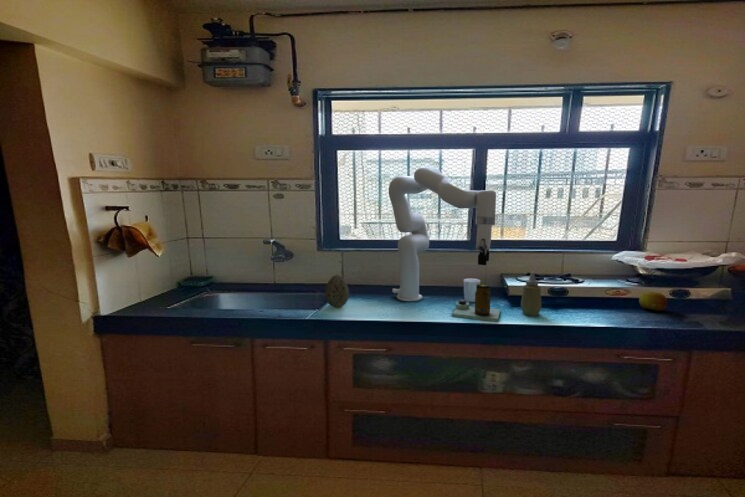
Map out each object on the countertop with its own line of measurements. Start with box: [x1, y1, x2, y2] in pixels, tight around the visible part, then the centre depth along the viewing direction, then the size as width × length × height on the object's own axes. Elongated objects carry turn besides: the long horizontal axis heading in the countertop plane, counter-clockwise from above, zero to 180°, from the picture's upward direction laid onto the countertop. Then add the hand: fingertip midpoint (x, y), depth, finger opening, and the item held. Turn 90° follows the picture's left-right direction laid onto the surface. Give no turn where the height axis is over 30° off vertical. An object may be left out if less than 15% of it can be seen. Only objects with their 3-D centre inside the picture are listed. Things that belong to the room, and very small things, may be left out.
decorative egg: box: [324, 274, 350, 309], centre depth 160 cm, size 11×11×15 cm
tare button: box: [458, 299, 467, 305], centre depth 154 cm, size 3×3×2 cm
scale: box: [451, 301, 501, 322], centre depth 148 cm, size 18×13×3 cm
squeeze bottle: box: [520, 271, 543, 317], centre depth 147 cm, size 8×8×18 cm
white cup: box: [462, 277, 481, 303], centre depth 169 cm, size 8×8×10 cm
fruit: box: [638, 291, 668, 312], centre depth 150 cm, size 10×9×8 cm
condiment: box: [471, 283, 497, 317], centre depth 144 cm, size 7×8×12 cm
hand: (483, 262), depth 144 cm, fingers open, 9 cm apart
